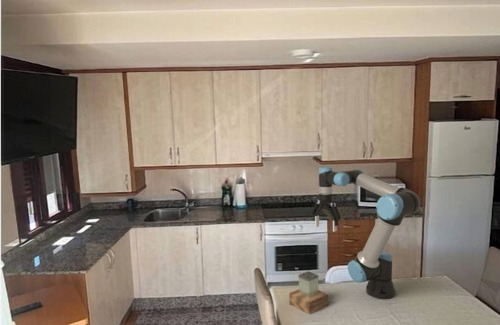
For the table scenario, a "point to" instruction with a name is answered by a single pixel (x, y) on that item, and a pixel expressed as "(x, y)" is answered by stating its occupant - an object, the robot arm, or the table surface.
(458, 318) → the table surface
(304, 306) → the block
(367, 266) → the robot arm
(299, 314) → the table surface
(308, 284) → the tea tin
